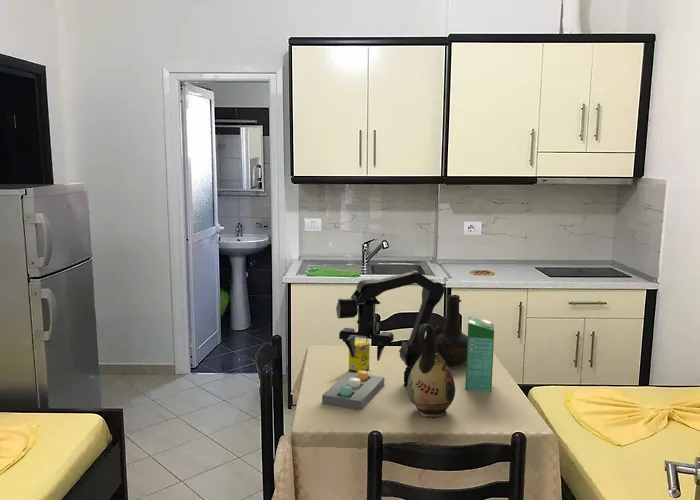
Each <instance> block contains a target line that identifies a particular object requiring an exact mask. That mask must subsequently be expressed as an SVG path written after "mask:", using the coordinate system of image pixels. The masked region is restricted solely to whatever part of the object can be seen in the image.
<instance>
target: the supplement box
mask: <svg viewBox="0 0 700 500" xmlns="http://www.w3.org/2000/svg"><path fill="white" fill-rule="evenodd" d="M370 345H371V344H370V342H367V341H362V340H355V358H353V357H352V355H351V352H350V350H349V349H348V372H352V373H357V372H358V371H361V370H364V371H367V372H368V371H369V370H370Z"/></svg>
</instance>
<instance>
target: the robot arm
mask: <svg viewBox="0 0 700 500" xmlns="http://www.w3.org/2000/svg"><path fill="white" fill-rule="evenodd" d="M412 284H417V285H418V286H419V287H421V288H422V291H421V304H420V308H419V310H418V313H417V316H416V319H415V322H414V325H413V328H412V331H411V334H410V336H409V338H408V340H407V341H406V342H405V341H402V342H401V346H400V349H399V350H398V352H399V358H400V360H401V361H403V363H404V365H405V366H406V367H405V370H404V372H403V386H404V387H407V385H408V379H409V375H410V373H411V370H412V368H413V366H414V365H415V363H416V362H417V360H418V359H419V357H420V356H421V355H422V353H421V349H420V345H419V341H418V329H419V326H420V325H422V324H429V323H430V321H431V318H432V315H433V312H434V309H435V307H436V306H437V305H438V304H439V303H440V301H441V300H442V298H443V296H444V294H445V291H446V289H445V286H444V285H443V284H442V283H441V282H439V281H437V280H435V279H433V278H432V279H430V278H428V277H426V276H424V275H423V274H422V273H421V272H419V271H417V270H415V269H414V270H410V271H408V272H404V273H400V274H397V275H396V274H395V275H393V276H389V277H385V278H382V279H381V278H380V279H373V278H372V279H361V280H360V281H359V282H358V283H357V285H356V289H355V291H354V292H353V293H352V295H351V296H350V298H338V299H337V303H336V309H335V310H336V317H337V319H349V318H350V319H353V318H355V317H357V320H356V324H357V326H358V327H357V331H356V329H355V328H353V327H344V328H343V329H342V330H340V331H339V333H338V339H340V340H342V342H343V343H345V345H346V346H347V348H348V351H349V350H350V352H351V355H352V357H353V358H355V342H356V338H360V339H367V340H369V339H370V340H377V342H378V343H377V345H376V346H377V347H376V360H377V362H379V361H380V359H381V357H382V354H383V351H384V349H385V347H386V346H388V345H390V344H391V343H392V342H393V341H394V339H395V338H394V334H393V332H391V331H390V332H388V331H382V332H381V333H379V334H378V332H379V331H380V322H377V321H376V317H375V305H380V304H381V302H380V301H379V300H378V299H377V297H379V296H380V295H381V294H383V293H385V292H387V291H391V290H394V289H397V288H401V287H406V286H410V285H412ZM429 325H430V324H429ZM425 333H426V331H425Z"/></svg>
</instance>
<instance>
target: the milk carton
mask: <svg viewBox="0 0 700 500" xmlns="http://www.w3.org/2000/svg"><path fill="white" fill-rule="evenodd" d="M467 336H468V340H467V362H466V366H465V369H466V370H465V391H474V392H485V393H492V385H493V383H492V382H493V366H494V365H493V363H494V346H495V345H494V343H495V341H494V340H495V326H494V323H493V322H492V321H490V320H487V319H484V318H483V319H478V318H475V317H472V316H468V319H467Z"/></svg>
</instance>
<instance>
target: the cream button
mask: <svg viewBox="0 0 700 500" xmlns="http://www.w3.org/2000/svg"><path fill="white" fill-rule="evenodd" d="M349 386H351V387H352V388H354V389H360V379H359V378H350V379H349Z"/></svg>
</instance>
